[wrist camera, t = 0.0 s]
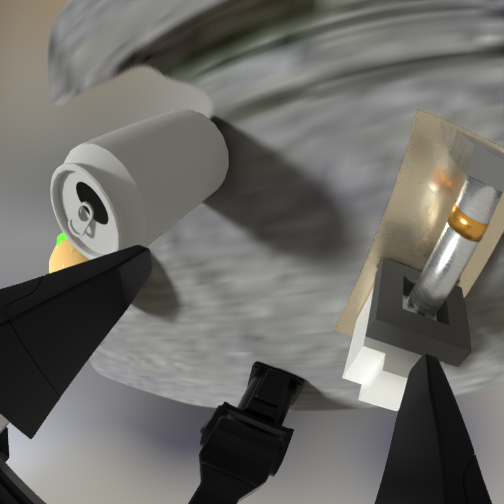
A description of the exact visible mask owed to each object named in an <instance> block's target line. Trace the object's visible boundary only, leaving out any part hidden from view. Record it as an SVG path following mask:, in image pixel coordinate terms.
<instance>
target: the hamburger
mask: <svg viewBox="0 0 504 504" xmlns="http://www.w3.org/2000/svg"><path fill="white" fill-rule="evenodd" d="M88 260H90V259H88V258H87V257H85V256H84V255H83V254H81V253H80V252H79V251H78V250H77V249H76V248H75V247H74V246H73V245H72V244H71V243H70V241H69V240H68V238H67V237H66V235H65V234H64V232H63V233H61V234H60V235H59V236H58V237H57V244H56V247H55V249H54V251H53V253H52V255H51V258H50V262H49V273H52V272H55V271H58V270H61V269H64V268H67V267H70V266H73V265H76V264H79V263H82V262H85V261H88Z"/></svg>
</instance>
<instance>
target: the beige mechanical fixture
mask: <svg viewBox="0 0 504 504" xmlns="http://www.w3.org/2000/svg"><path fill="white" fill-rule="evenodd" d="M503 231H504V148H502V147H500V146H498V145H496V144H495V143H493V142H491V141H489V140H487V139H485V138H483V137H481V136H479V135H477V134H475V133H473V132H471V131H469V130H466V129H464V128H462V127H460V126H458V125H455V124H453V123H451V122H449V121H446V120H444V119H442V118H439V117H437V116H434V115H432V114H429V113H427V112H424V111H422V110H419V109H417V113H416V116H415V120H414V124H413V127H412V131H411V134H410V138H409V141H408V144H407V148H406V151H405V154H404V157H403V160H402V163H401V167H400V170H399V173H398V176H397V179H396V182H395V185H394V187H393V190H392V193H391V196H390V199H389V202H388V204H387V207H386V210H385V213H384V215H383V218H382V221H381V223H380V226H379V228H378V231H377V234H376V236H375V239H374V241H373V244H372V246H371V249H370V251H369V254H368V256H367V258H366V261H365V263H364V266H363V268H362V270H361V273H360V275H359V277H358V279H357V282H356V284H355V286H354V289H353V291H352V293H351V295H350V297H349V300H348V302H347V304H346V306H345V308H344V310H343V312H342V315H341V317H340V319H339V321H338V323H337V325H336V328H335V331H338V332H341V333H344V334H346V335H349V336H352V337H353V333H354V329H355V325H356V320H357V318H358V316H359V315H360V313H361V311H362V309H363V307H364V305H365V303H366V301H367V299H368V297H369V295H370V293H371V291H372V289H373V287H374V281H375V274H376V272H377V270H378V267H379V265H380V263H381V261H382V259H383V258H386V259H389V260H392V261H394V262H397V263H400V264H402V265H405V266H408V267H410V268H413V269H416V270H418V271H421V272H422V273H421V274H420V276H419V278H418V280H417V282H416V284H415V285H414V287H413V289H412V291H411V292H410V294H409V296H405V295H403V298H406V301H405V303H404V304H403V309H405V310H408V311H411V312H413V313H416V314H419V315H422V316H425V317H427V318H430V319H433V318H434V317H435V315H436V314H437V312H438V311H439V309H440V308H441V306H442V305H443V303H444V302H445V300H446V298H447V297H448V295H449V294H450V292H451V291H452V289H453V287H454V286H455V285H457V286H459V287H462V291H463V297H464V298H465V296H466V295H467V293H468V292H469V290H470V289H471V287H472V285H473V284H474V282H475V281H476V279H477V277H478V276H479V274H480V273H481V271H482V269H483V268H484V266H485V264H486V262H487V261H488V259H489V257H490V255H491V254H492V252H493V250H494V248H495V246H496V245H497V243H498V241H499V239H500V237H501V235H502V233H503Z"/></svg>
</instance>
